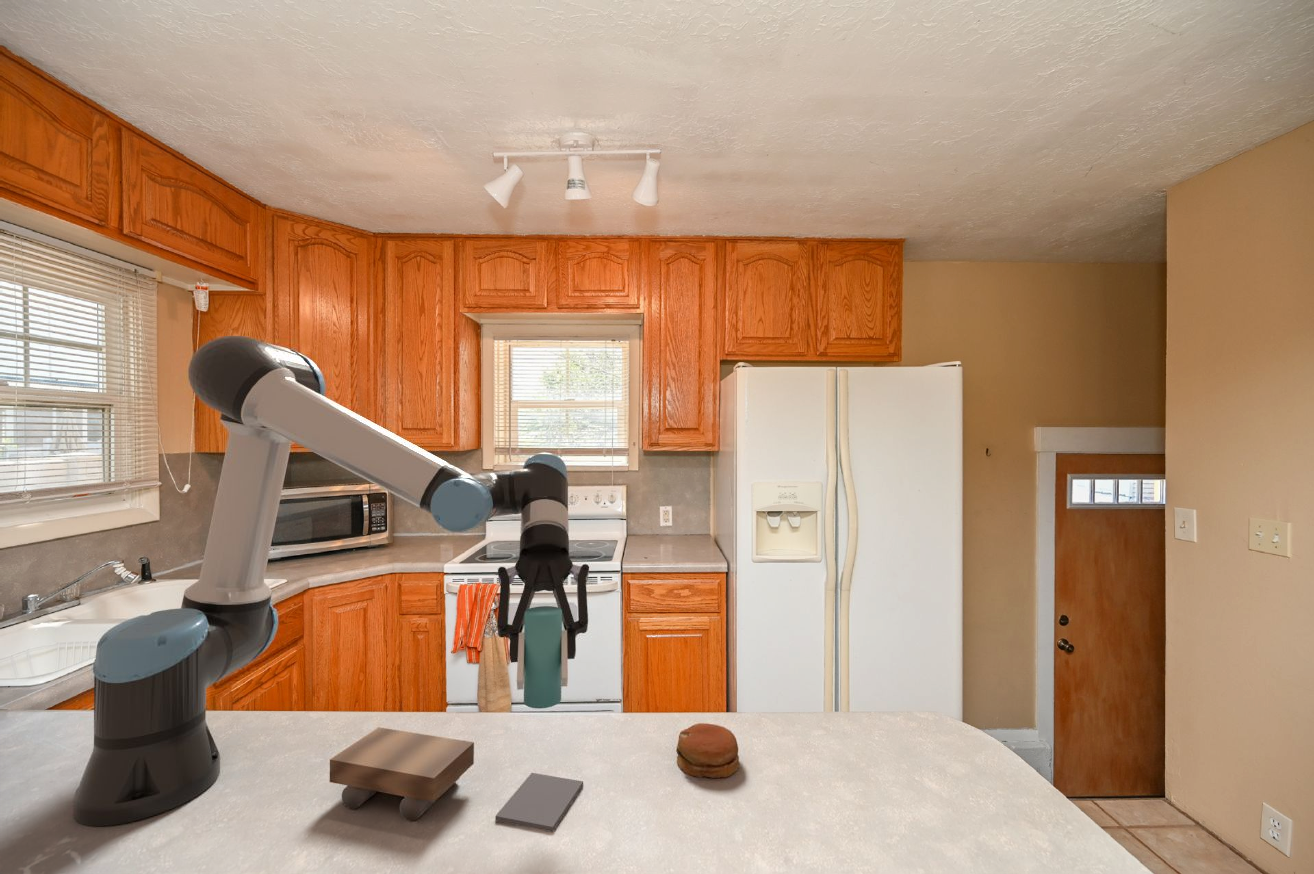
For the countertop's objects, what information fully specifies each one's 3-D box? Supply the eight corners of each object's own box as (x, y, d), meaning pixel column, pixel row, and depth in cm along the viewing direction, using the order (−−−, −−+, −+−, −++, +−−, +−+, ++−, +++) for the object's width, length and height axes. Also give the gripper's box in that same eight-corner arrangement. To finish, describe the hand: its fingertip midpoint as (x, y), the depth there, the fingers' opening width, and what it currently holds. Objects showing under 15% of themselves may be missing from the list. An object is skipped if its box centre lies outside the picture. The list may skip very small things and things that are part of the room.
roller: (516, 705, 76) (517, 615, 76) (534, 690, 81) (534, 605, 81) (551, 710, 75) (552, 618, 75) (567, 694, 80) (567, 607, 80)
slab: (329, 804, 76) (329, 759, 77) (378, 767, 85) (378, 727, 85) (433, 825, 72) (433, 778, 72) (473, 784, 81) (473, 742, 81)
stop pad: (495, 820, 74) (495, 815, 74) (531, 776, 83) (531, 772, 83) (552, 831, 71) (552, 826, 72) (583, 785, 81) (583, 781, 81)
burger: (749, 775, 84) (749, 743, 84) (690, 787, 81) (690, 753, 81) (721, 742, 94) (721, 713, 94) (667, 751, 91) (667, 721, 91)
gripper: (600, 548, 95) (609, 690, 78) (487, 551, 91) (472, 700, 75) (603, 520, 90) (614, 666, 73) (483, 522, 86) (467, 676, 70)
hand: (542, 683), depth 74 cm, fingers closed on roller, 5 cm apart
